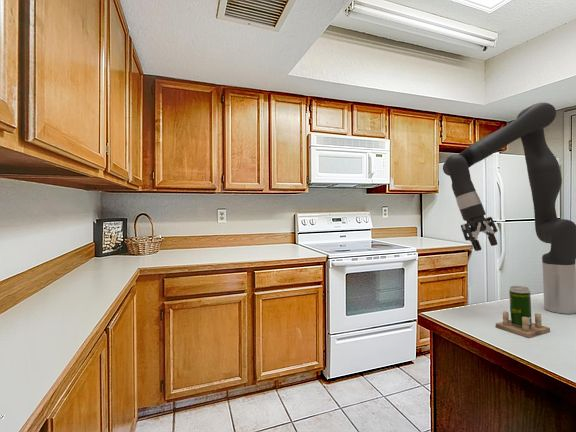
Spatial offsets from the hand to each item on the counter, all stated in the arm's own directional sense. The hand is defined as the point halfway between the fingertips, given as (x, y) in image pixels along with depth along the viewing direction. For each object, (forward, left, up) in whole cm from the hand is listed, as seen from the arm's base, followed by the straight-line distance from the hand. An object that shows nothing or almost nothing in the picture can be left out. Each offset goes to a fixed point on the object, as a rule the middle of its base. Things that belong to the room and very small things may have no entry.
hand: (486, 247), depth 114 cm
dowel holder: (+5, +14, -24) cm, 28 cm away
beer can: (+5, +14, -23) cm, 28 cm away
